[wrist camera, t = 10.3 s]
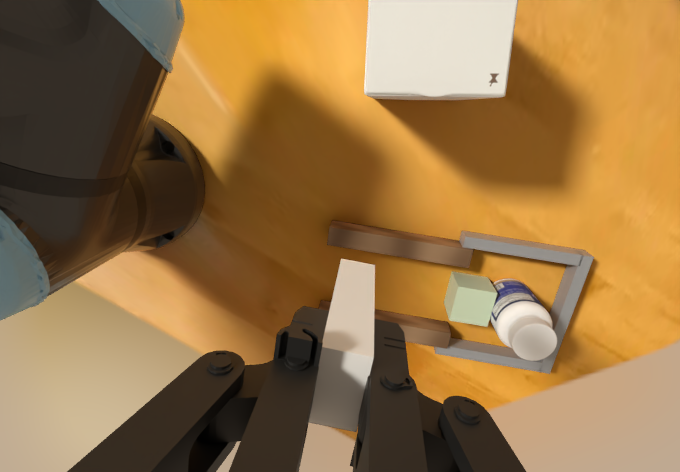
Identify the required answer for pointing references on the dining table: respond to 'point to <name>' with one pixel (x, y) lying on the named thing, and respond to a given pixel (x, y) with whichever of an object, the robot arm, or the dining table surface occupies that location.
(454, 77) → the supplement box
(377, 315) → the slot rails
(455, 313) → the chip cube
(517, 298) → the pill bottle
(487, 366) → the dining table surface
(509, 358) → the grey u-shaped frame
